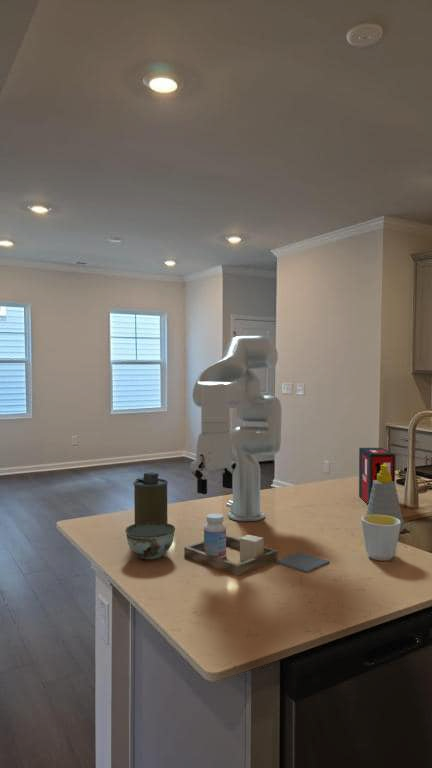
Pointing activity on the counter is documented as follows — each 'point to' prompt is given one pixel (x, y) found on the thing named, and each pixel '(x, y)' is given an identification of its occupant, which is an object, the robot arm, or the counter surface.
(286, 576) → the counter surface
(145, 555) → the bowl
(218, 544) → the pill bottle
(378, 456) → the cleaning product box
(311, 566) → the slate mat
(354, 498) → the counter surface
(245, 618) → the counter surface
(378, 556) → the mug
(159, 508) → the canister
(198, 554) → the parts frame
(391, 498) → the soap bottle
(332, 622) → the counter surface
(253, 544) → the tan box
